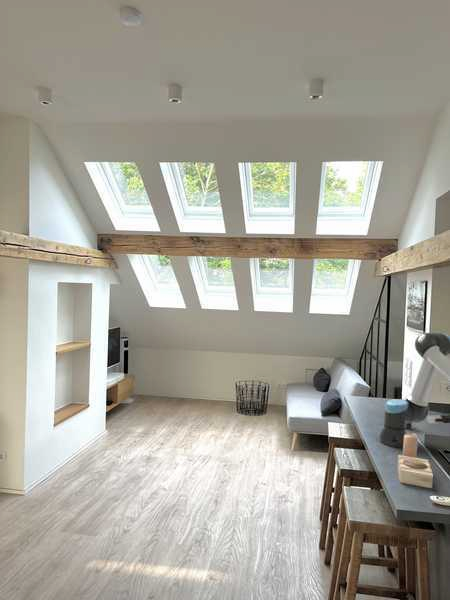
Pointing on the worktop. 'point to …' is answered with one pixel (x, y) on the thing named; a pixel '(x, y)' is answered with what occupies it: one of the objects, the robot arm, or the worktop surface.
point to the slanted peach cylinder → (410, 445)
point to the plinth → (414, 471)
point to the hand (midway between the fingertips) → (427, 419)
